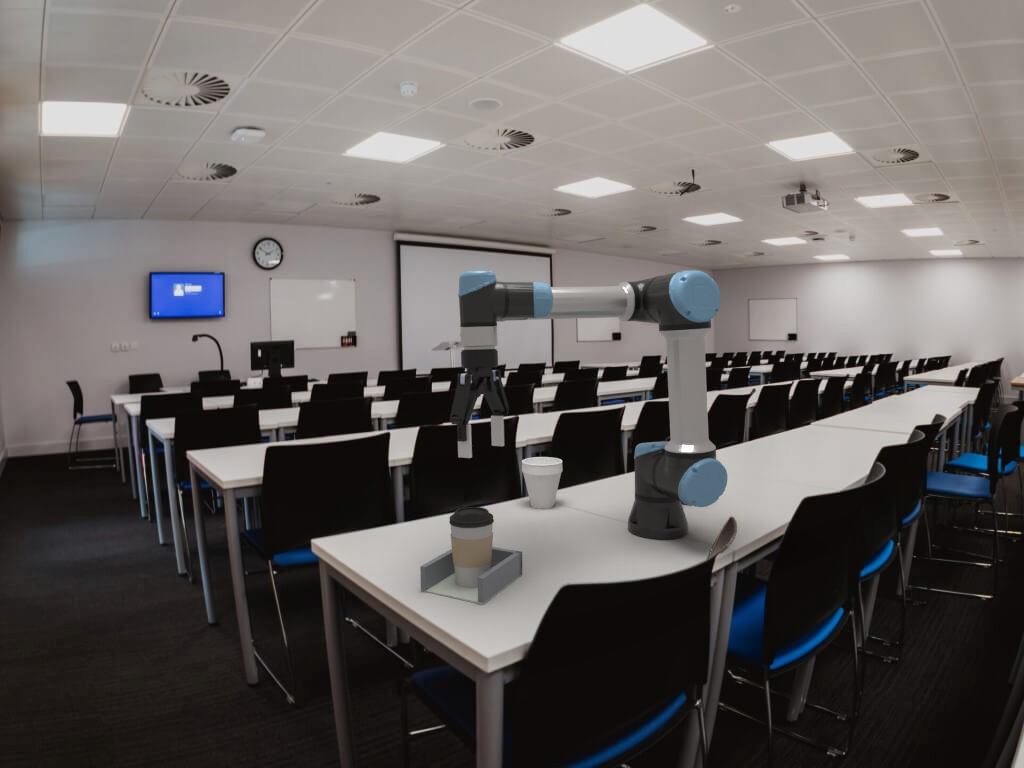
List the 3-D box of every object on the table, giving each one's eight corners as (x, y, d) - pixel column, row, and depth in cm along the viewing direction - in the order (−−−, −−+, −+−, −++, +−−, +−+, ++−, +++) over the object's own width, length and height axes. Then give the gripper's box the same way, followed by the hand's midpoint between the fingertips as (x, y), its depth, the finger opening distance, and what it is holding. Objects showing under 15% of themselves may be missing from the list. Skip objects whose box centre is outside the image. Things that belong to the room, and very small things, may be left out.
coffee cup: (450, 573, 129) (449, 504, 128) (493, 572, 129) (492, 502, 128) (450, 591, 120) (448, 516, 119) (496, 589, 120) (494, 514, 119)
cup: (546, 498, 191) (546, 455, 190) (571, 506, 181) (571, 461, 180) (514, 504, 184) (513, 459, 183) (537, 513, 174) (537, 466, 173)
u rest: (522, 575, 128) (522, 551, 128) (483, 604, 114) (483, 578, 114) (464, 564, 135) (464, 542, 135) (420, 590, 121) (420, 566, 120)
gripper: (492, 347, 137) (495, 440, 138) (428, 350, 115) (432, 461, 116) (522, 346, 133) (525, 442, 135) (462, 349, 111) (466, 464, 113)
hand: (482, 451), depth 125 cm, fingers open, 13 cm apart
